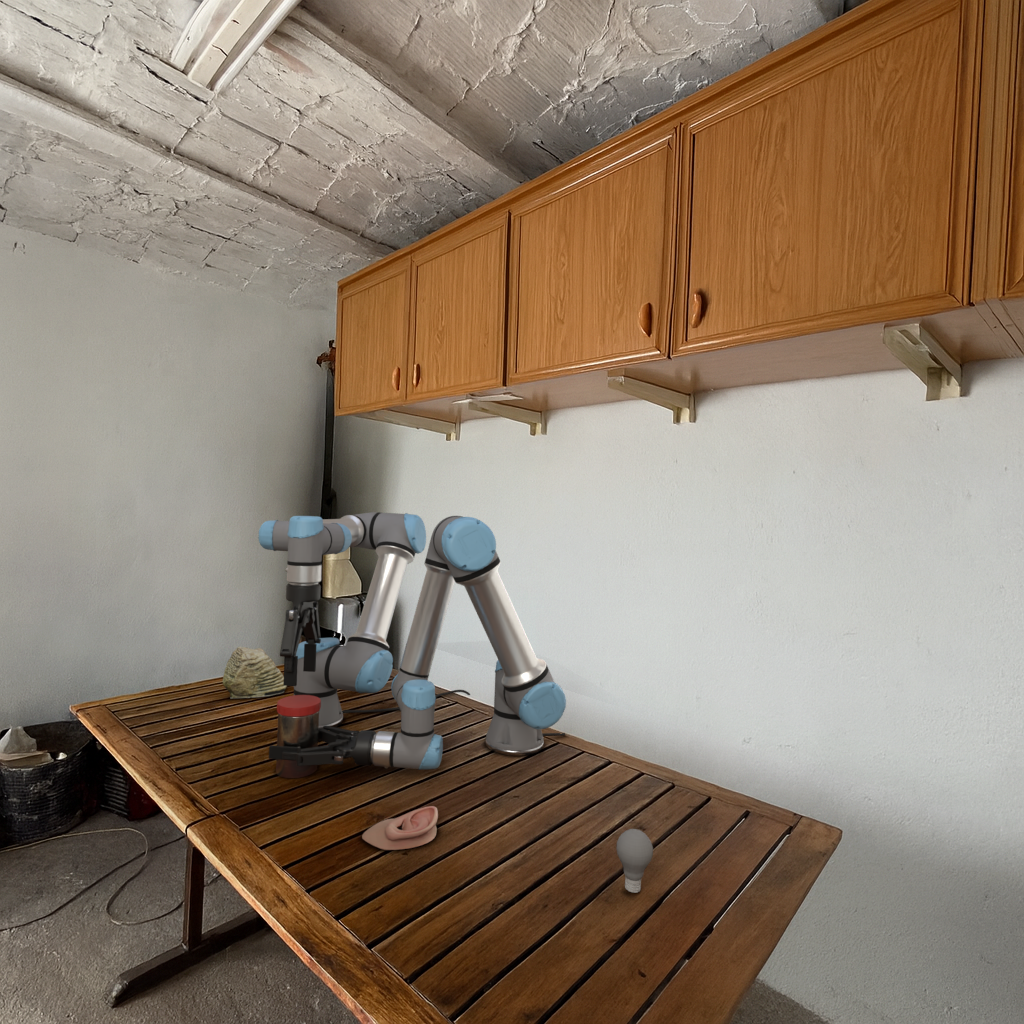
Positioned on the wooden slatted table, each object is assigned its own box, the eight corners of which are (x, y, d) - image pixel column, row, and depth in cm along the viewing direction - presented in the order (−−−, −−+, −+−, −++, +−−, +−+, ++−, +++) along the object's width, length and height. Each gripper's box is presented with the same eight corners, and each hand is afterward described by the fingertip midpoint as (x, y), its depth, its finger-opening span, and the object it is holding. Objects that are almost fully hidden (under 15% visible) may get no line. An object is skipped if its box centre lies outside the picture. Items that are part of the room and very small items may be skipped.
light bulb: (610, 879, 108) (613, 822, 108) (644, 879, 109) (647, 822, 109) (619, 902, 102) (622, 840, 102) (655, 901, 103) (658, 840, 103)
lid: (270, 716, 141) (271, 707, 141) (283, 702, 150) (284, 694, 150) (314, 717, 141) (314, 708, 141) (324, 703, 151) (325, 695, 151)
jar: (270, 778, 141) (273, 709, 141) (282, 761, 150) (285, 696, 150) (311, 778, 142) (314, 710, 142) (321, 762, 151) (323, 697, 151)
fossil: (218, 695, 195) (220, 647, 195) (278, 685, 208) (279, 640, 207) (228, 703, 189) (230, 653, 188) (289, 692, 201) (290, 645, 201)
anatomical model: (355, 823, 115) (380, 795, 127) (354, 845, 116) (380, 815, 127) (424, 834, 113) (444, 804, 124) (423, 856, 113) (443, 824, 124)
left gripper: (306, 576, 157) (303, 664, 158) (265, 589, 134) (261, 692, 134) (336, 577, 157) (332, 665, 157) (300, 591, 134) (296, 694, 134)
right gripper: (359, 787, 134) (257, 780, 135) (386, 745, 157) (298, 739, 158) (361, 751, 134) (258, 745, 135) (387, 715, 157) (299, 710, 158)
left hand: (300, 678), depth 146 cm, fingers open, 11 cm apart
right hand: (279, 742), depth 146 cm, fingers open, 10 cm apart
